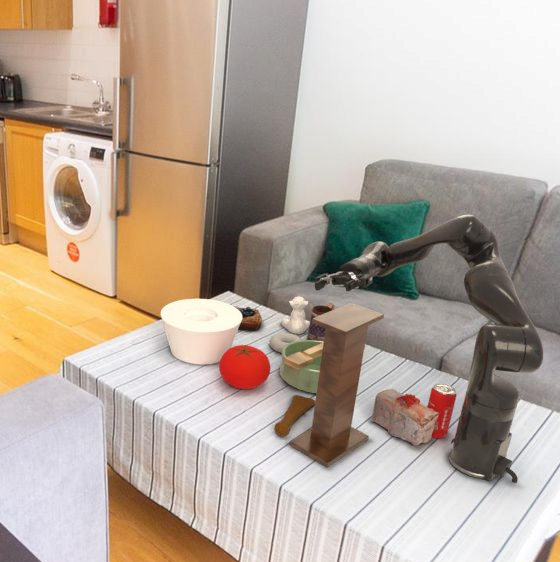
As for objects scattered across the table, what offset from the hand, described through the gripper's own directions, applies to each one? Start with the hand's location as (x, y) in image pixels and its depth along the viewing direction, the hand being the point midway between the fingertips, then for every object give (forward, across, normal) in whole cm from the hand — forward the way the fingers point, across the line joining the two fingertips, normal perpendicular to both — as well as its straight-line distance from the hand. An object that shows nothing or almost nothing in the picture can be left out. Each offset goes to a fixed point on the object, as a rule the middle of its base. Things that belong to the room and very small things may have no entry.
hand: (331, 287), depth 157 cm
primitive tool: (+26, -1, +26) cm, 37 cm away
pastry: (-12, -38, +17) cm, 44 cm away
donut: (-6, -20, +22) cm, 30 cm away
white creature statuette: (-20, -24, +21) cm, 37 cm away
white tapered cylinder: (+14, -37, +17) cm, 43 cm away
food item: (+14, +20, +32) cm, 40 cm away
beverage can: (+9, +26, +33) cm, 43 cm away
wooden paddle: (+4, -4, +18) cm, 19 cm away
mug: (-17, -14, +23) cm, 32 cm away
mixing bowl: (+4, -6, +25) cm, 26 cm away
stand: (+29, +10, +29) cm, 42 cm away
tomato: (+21, -18, +22) cm, 35 cm away
